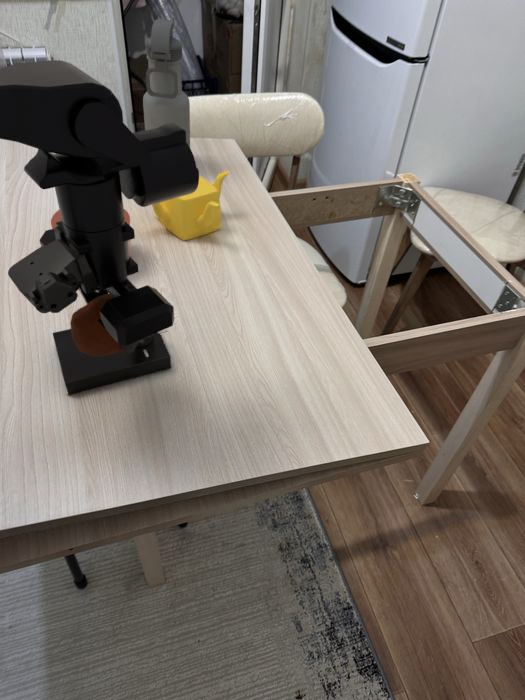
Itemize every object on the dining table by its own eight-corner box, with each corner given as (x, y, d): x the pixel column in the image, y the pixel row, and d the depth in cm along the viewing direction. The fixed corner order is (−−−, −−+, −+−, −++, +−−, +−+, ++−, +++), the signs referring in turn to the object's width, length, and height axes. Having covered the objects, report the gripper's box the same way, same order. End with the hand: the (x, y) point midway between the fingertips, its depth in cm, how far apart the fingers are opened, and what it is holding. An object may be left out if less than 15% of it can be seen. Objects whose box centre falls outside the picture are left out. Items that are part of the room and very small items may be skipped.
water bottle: (187, 177, 109) (185, 33, 90) (144, 173, 109) (132, 27, 89) (192, 157, 117) (191, 20, 97) (151, 153, 116) (141, 14, 96)
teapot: (161, 200, 101) (158, 154, 94) (228, 209, 101) (230, 164, 94) (142, 238, 91) (138, 190, 84) (217, 248, 91) (218, 201, 84)
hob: (68, 395, 64) (64, 382, 62) (56, 345, 70) (52, 331, 68) (178, 366, 69) (178, 353, 67) (158, 322, 75) (157, 309, 73)
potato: (65, 336, 58) (54, 293, 53) (139, 312, 62) (134, 271, 57) (86, 374, 54) (76, 332, 49) (163, 346, 58) (160, 304, 54)
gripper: (-30, 194, 47) (13, 316, 58) (51, 298, 37) (84, 419, 48) (80, 170, 52) (100, 284, 63) (174, 255, 43) (179, 372, 54)
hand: (113, 334), depth 57 cm, fingers closed on potato, 7 cm apart
